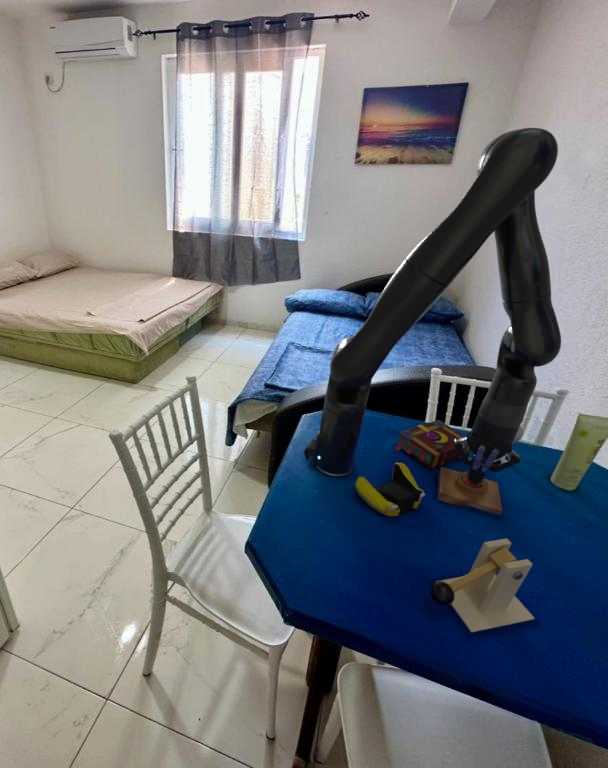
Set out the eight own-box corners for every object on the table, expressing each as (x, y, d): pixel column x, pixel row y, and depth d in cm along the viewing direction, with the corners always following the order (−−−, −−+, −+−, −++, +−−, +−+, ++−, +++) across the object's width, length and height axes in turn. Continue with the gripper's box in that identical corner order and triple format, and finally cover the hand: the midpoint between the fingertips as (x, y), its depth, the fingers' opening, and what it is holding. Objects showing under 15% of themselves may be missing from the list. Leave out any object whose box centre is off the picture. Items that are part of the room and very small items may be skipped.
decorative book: (469, 455, 106) (476, 440, 104) (426, 472, 100) (432, 456, 97) (433, 432, 115) (438, 417, 113) (391, 446, 109) (395, 430, 106)
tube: (565, 494, 94) (605, 424, 85) (543, 480, 98) (579, 412, 89) (580, 488, 96) (621, 419, 87) (557, 474, 100) (594, 407, 91)
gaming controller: (348, 494, 92) (381, 526, 84) (352, 476, 89) (386, 506, 82) (395, 476, 98) (430, 503, 90) (401, 458, 96) (437, 485, 88)
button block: (437, 499, 91) (442, 486, 90) (438, 473, 99) (442, 460, 98) (498, 518, 87) (505, 504, 85) (494, 489, 95) (500, 476, 93)
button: (461, 489, 91) (463, 483, 91) (460, 479, 94) (463, 473, 93) (479, 494, 90) (482, 488, 89) (478, 484, 93) (480, 478, 92)
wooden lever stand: (469, 636, 65) (497, 584, 59) (433, 585, 72) (454, 535, 66) (532, 622, 67) (565, 571, 61) (490, 575, 75) (516, 525, 69)
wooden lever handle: (441, 614, 65) (436, 604, 63) (427, 593, 68) (422, 583, 66) (522, 571, 64) (519, 560, 62) (504, 552, 67) (501, 541, 65)
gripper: (534, 415, 84) (504, 480, 92) (462, 400, 88) (440, 462, 97) (541, 434, 78) (509, 501, 86) (464, 417, 82) (440, 482, 91)
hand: (473, 481), depth 91 cm, fingers closed
